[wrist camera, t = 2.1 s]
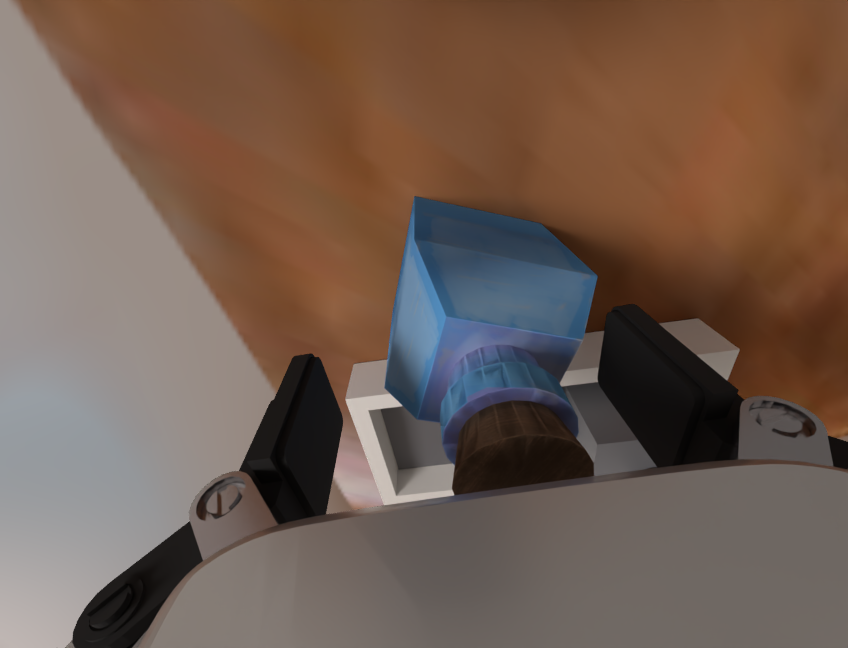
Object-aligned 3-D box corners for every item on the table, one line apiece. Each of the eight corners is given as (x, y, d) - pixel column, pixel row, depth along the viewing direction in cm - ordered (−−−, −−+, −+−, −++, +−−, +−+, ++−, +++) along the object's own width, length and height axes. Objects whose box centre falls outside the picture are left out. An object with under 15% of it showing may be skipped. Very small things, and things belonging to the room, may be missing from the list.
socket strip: (698, 318, 20) (740, 349, 17) (661, 436, 25) (689, 473, 22) (353, 363, 21) (345, 399, 18) (387, 467, 26) (384, 506, 24)
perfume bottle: (414, 196, 16) (412, 350, 6) (540, 223, 17) (733, 401, 7) (392, 311, 19) (367, 541, 9) (499, 329, 20) (587, 560, 10)
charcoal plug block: (664, 361, 20) (770, 467, 14) (645, 431, 23) (724, 543, 17) (559, 374, 20) (618, 483, 14) (554, 442, 24) (601, 555, 18)
